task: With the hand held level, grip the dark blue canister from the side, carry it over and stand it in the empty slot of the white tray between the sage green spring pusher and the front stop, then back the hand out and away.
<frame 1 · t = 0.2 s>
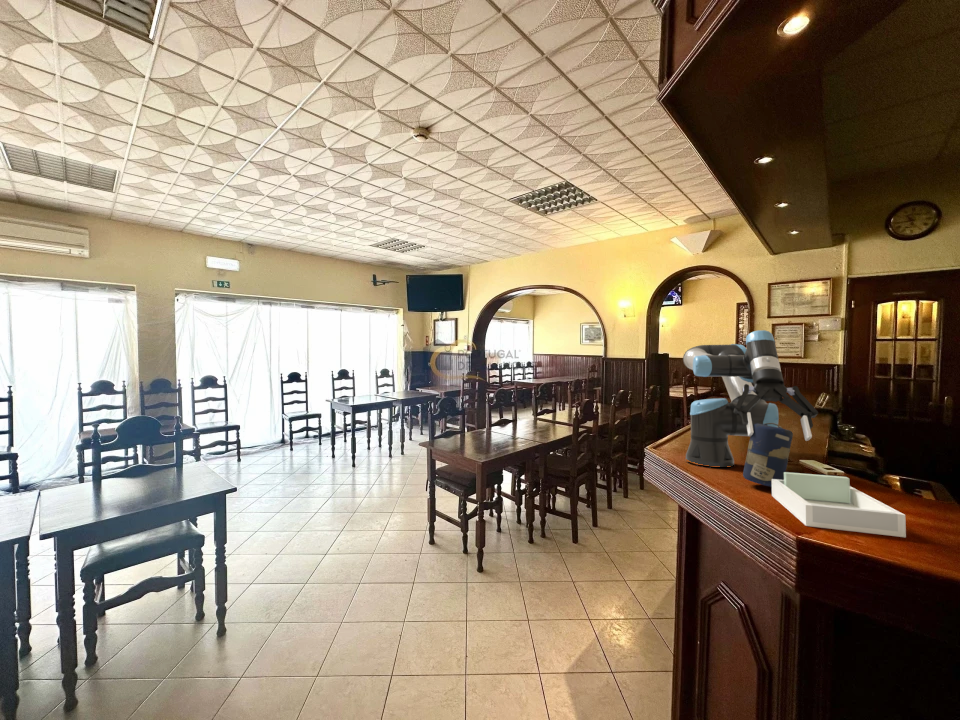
hand: (779, 436, 112), 15 cm above the table, tool tilted 35°, fingers open, 13 cm apart
dark blue canister: (761, 485, 113), point 1 cm above the table, touching gripper
white tray: (829, 513, 93), on the table
pusher: (815, 487, 99), point 4 cm above the table, slide at 0.0 cm
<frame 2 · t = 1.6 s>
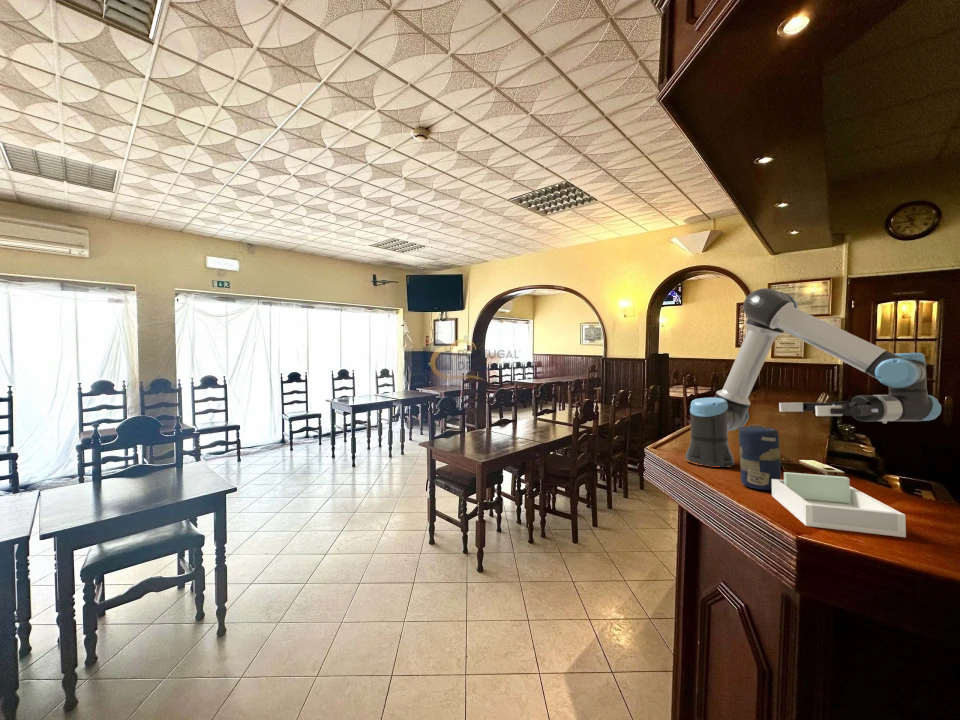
hand: (797, 409, 113), 23 cm above the table, tool horizontal, fingers open, 13 cm apart
dark blue canister: (760, 488, 113), on the table
everything else where it was.
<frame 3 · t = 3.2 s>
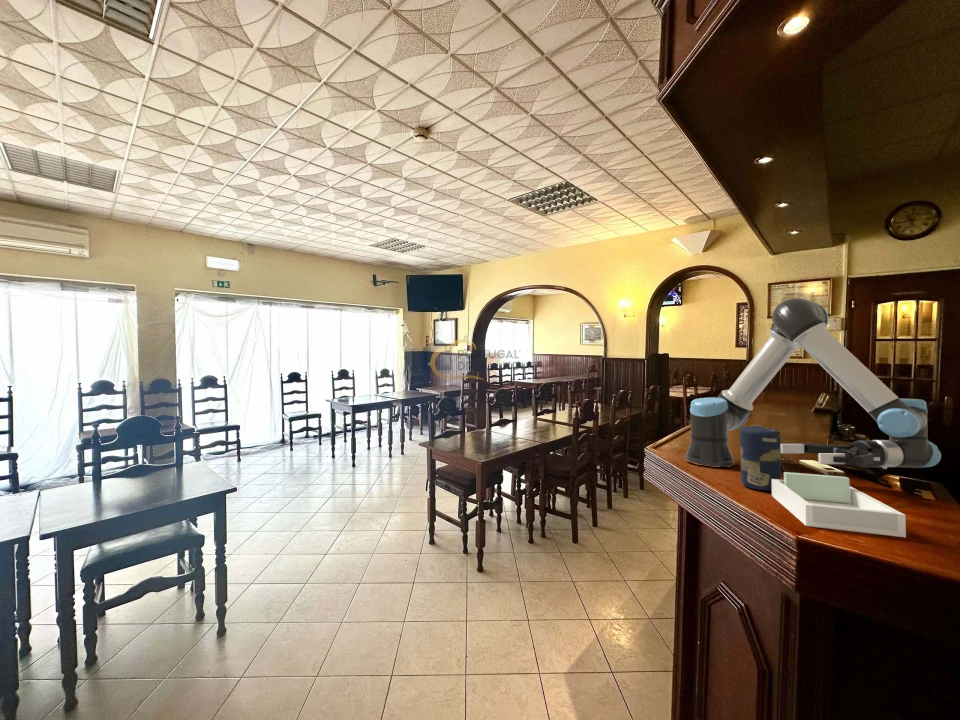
hand: (799, 453, 113), 10 cm above the table, tool horizontal, fingers open, 13 cm apart
nothing on the table moved.
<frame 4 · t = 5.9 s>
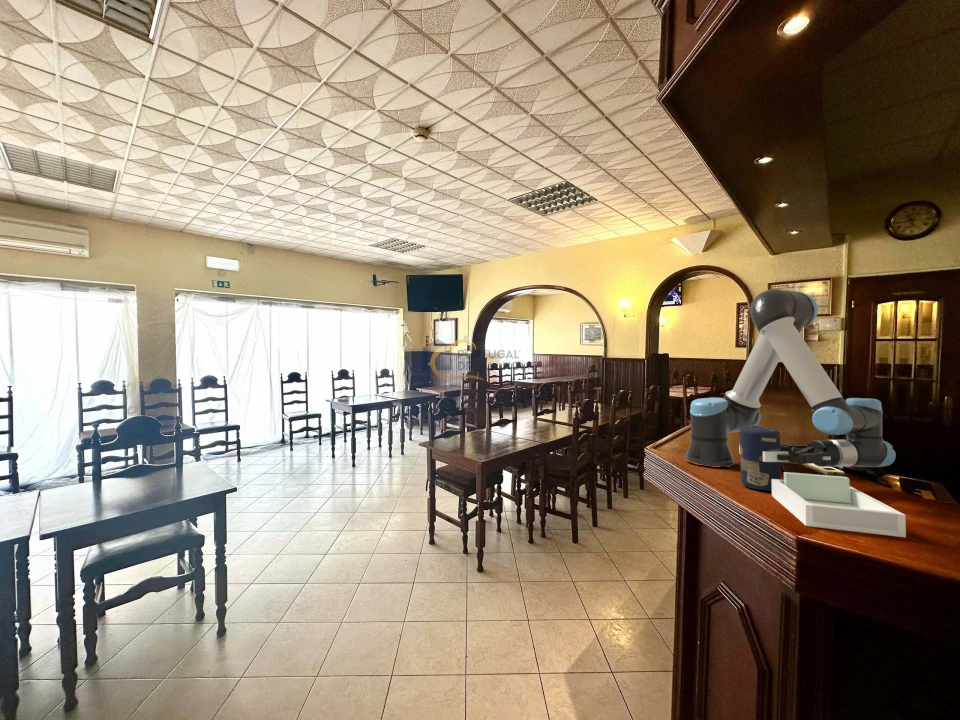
hand: (751, 452, 113), 10 cm above the table, tool horizontal, fingers closed on dark blue canister, 9 cm apart
dark blue canister: (760, 488, 113), on the table, touching gripper
everything else where it was.
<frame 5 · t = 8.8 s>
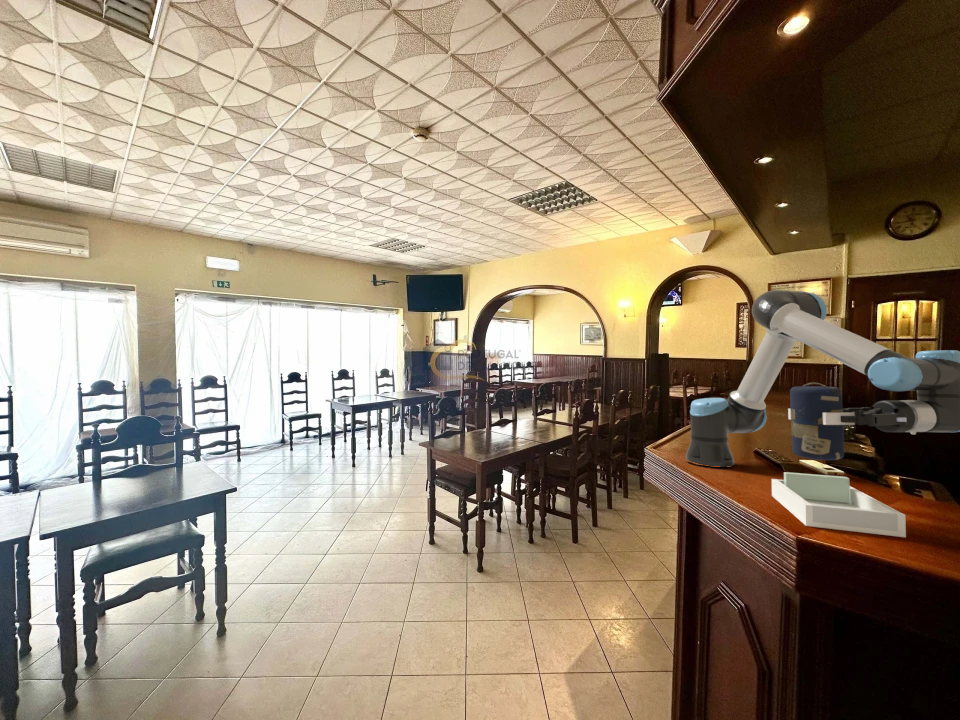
hand: (805, 416, 94), 23 cm above the table, tool horizontal, fingers closed on dark blue canister, 9 cm apart
dark blue canister: (817, 458, 94), point 13 cm above the table, touching gripper
everything else where it was.
when the fingers open (12 cm above the table, at t = 11.5 s): dark blue canister moves 1 cm, resting on white tray.
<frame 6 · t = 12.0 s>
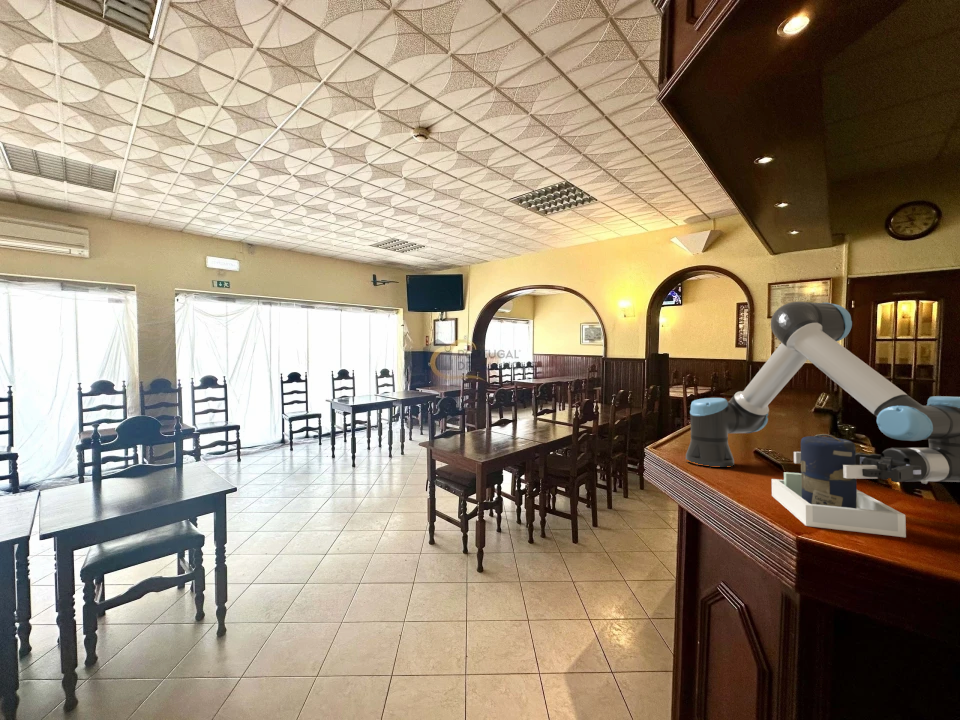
hand: (817, 464, 91), 12 cm above the table, tool horizontal, fingers open, 13 cm apart
dark blue canister: (828, 513, 90), point 1 cm above the table, touching white tray
everything else where it was.
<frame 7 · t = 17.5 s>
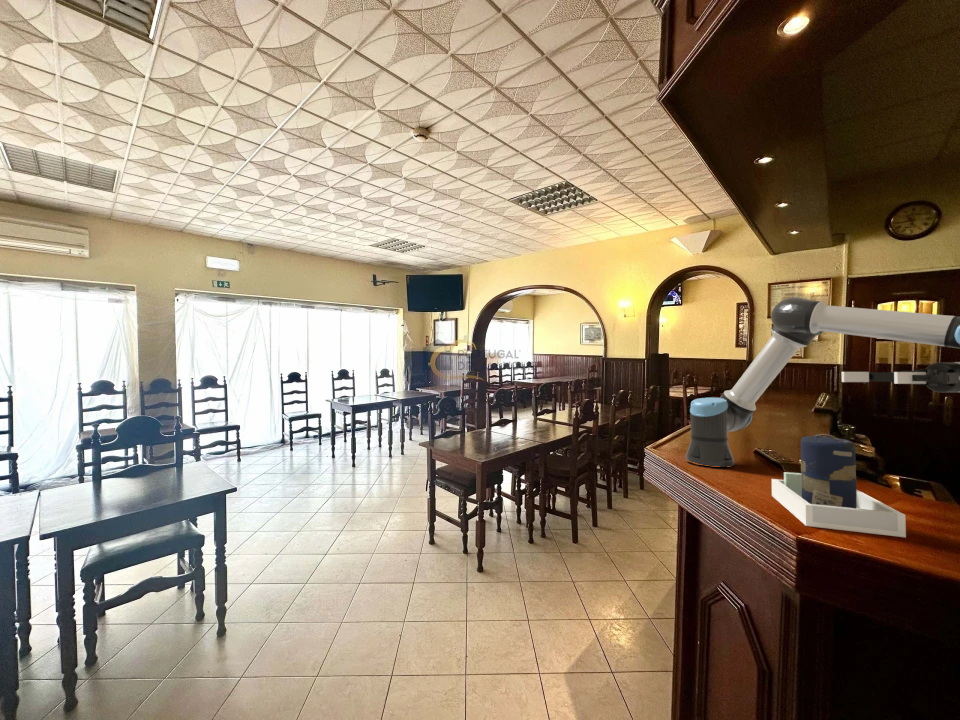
hand: (867, 377, 98), 32 cm above the table, tool horizontal, fingers open, 13 cm apart
nothing on the table moved.
at the end: dark blue canister inside the target area on the white tray (1.7 cm from its centre), point 0.8 cm above the white tray's base; dark blue canister tilted 0°; the gripper is holding nothing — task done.
